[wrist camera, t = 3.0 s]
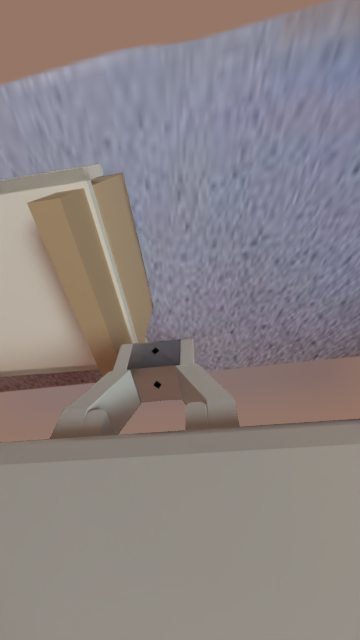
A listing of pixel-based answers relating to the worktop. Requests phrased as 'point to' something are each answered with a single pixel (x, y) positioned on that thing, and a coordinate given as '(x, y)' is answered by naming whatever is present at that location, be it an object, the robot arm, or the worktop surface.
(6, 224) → the lid
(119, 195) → the tan open box
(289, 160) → the worktop surface
